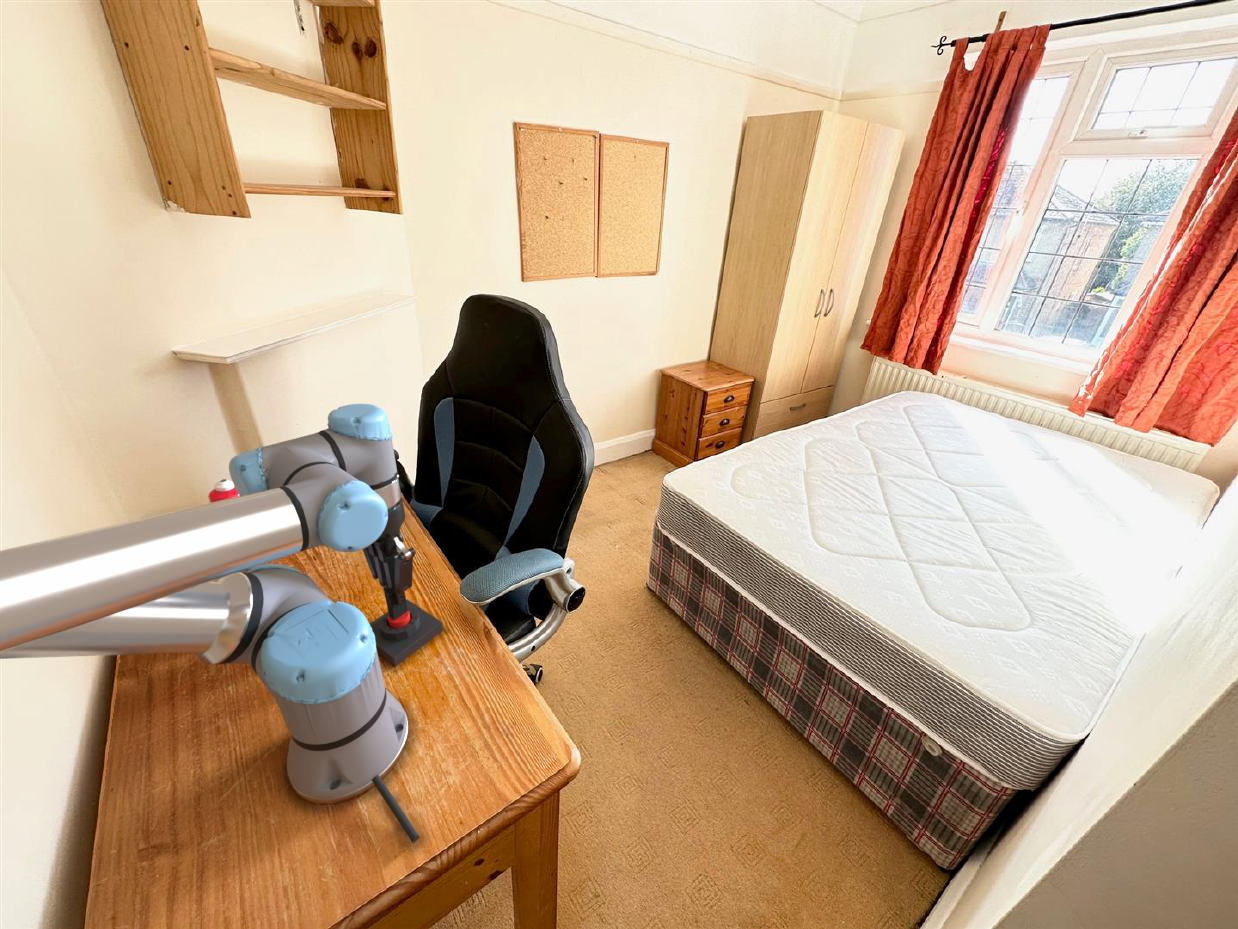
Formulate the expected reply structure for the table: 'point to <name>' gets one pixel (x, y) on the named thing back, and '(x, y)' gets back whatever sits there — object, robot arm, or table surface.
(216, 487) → the bottle
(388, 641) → the panel
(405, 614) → the button
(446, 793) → the table surface
